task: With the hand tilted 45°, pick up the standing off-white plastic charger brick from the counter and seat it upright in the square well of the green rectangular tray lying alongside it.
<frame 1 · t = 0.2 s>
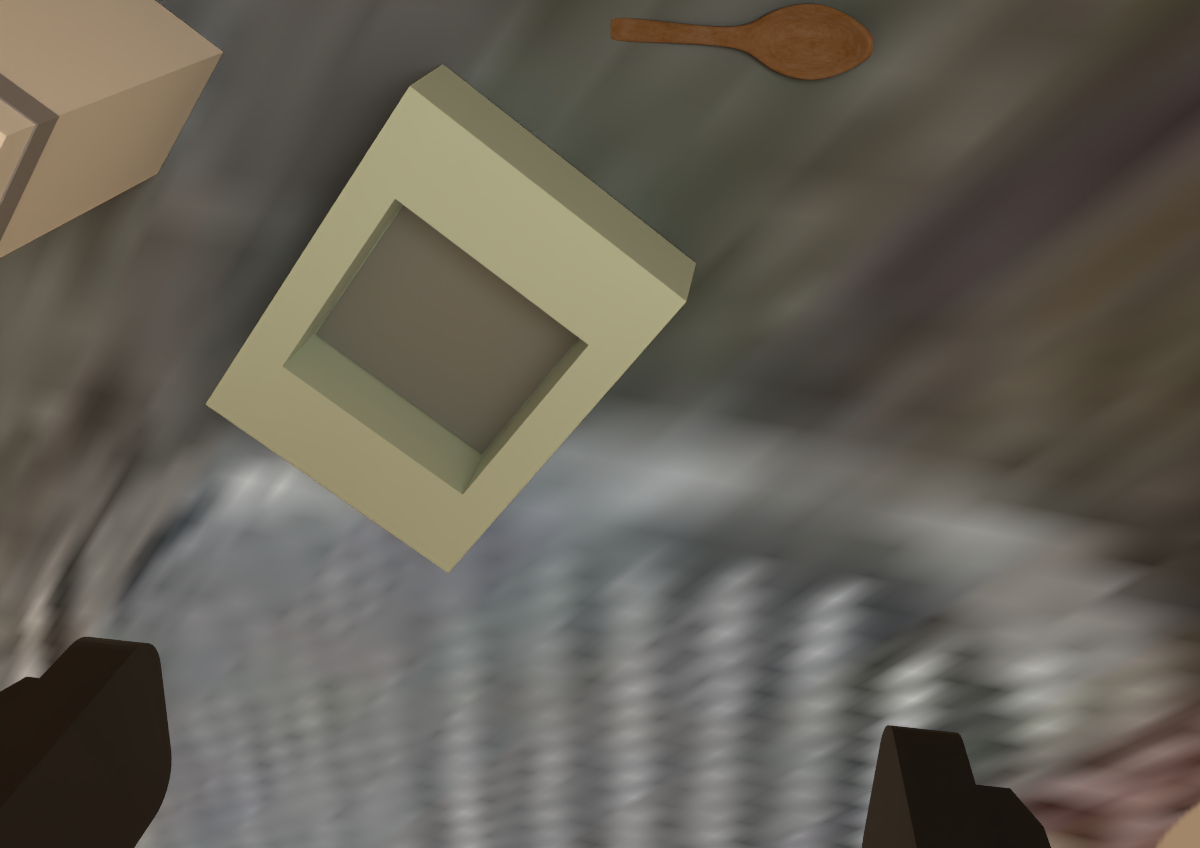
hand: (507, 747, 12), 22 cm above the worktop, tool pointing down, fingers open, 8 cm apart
green rectangular tray: (459, 316, 35), on the worktop
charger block: (123, 65, 33), on the worktop
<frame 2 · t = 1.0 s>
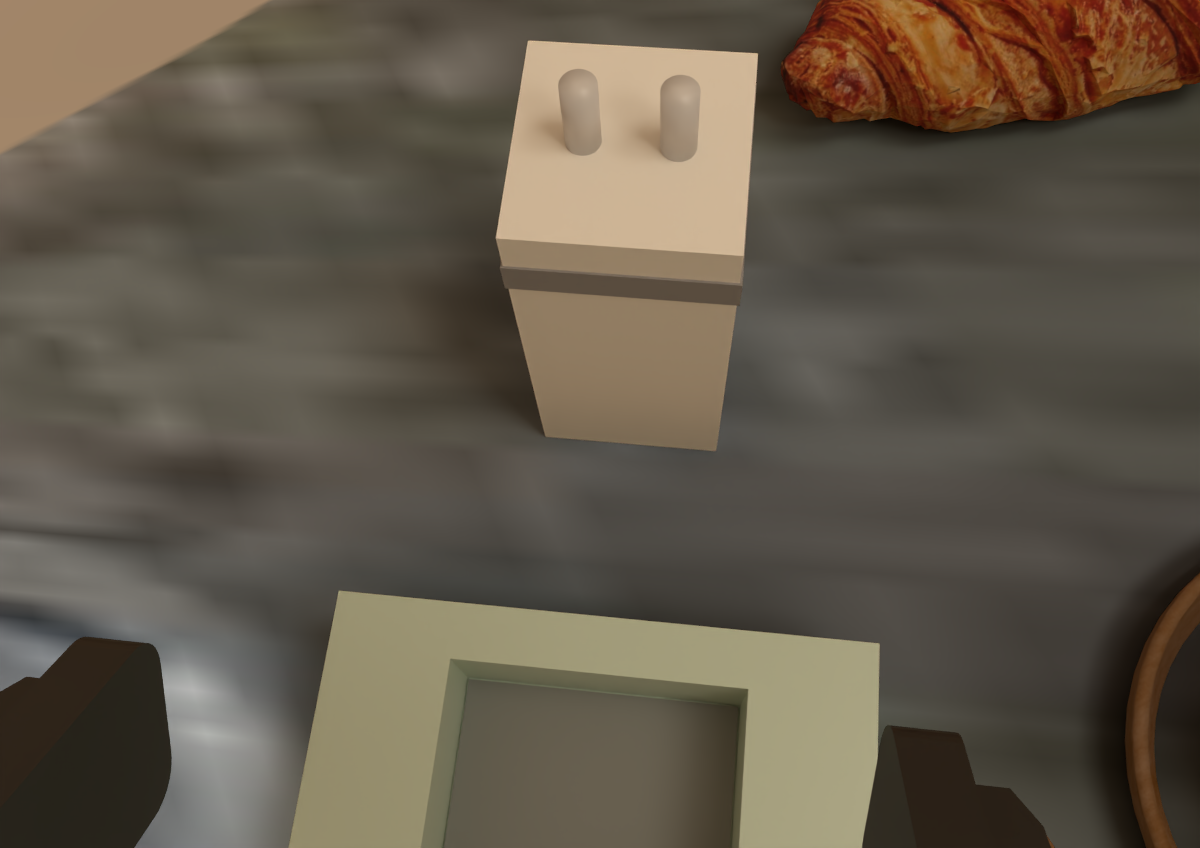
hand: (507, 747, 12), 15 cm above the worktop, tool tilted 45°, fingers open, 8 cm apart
croissant: (1080, 9, 35), on the worktop
green rectangular tray: (588, 837, 26), on the worktop
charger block: (638, 366, 31), on the worktop
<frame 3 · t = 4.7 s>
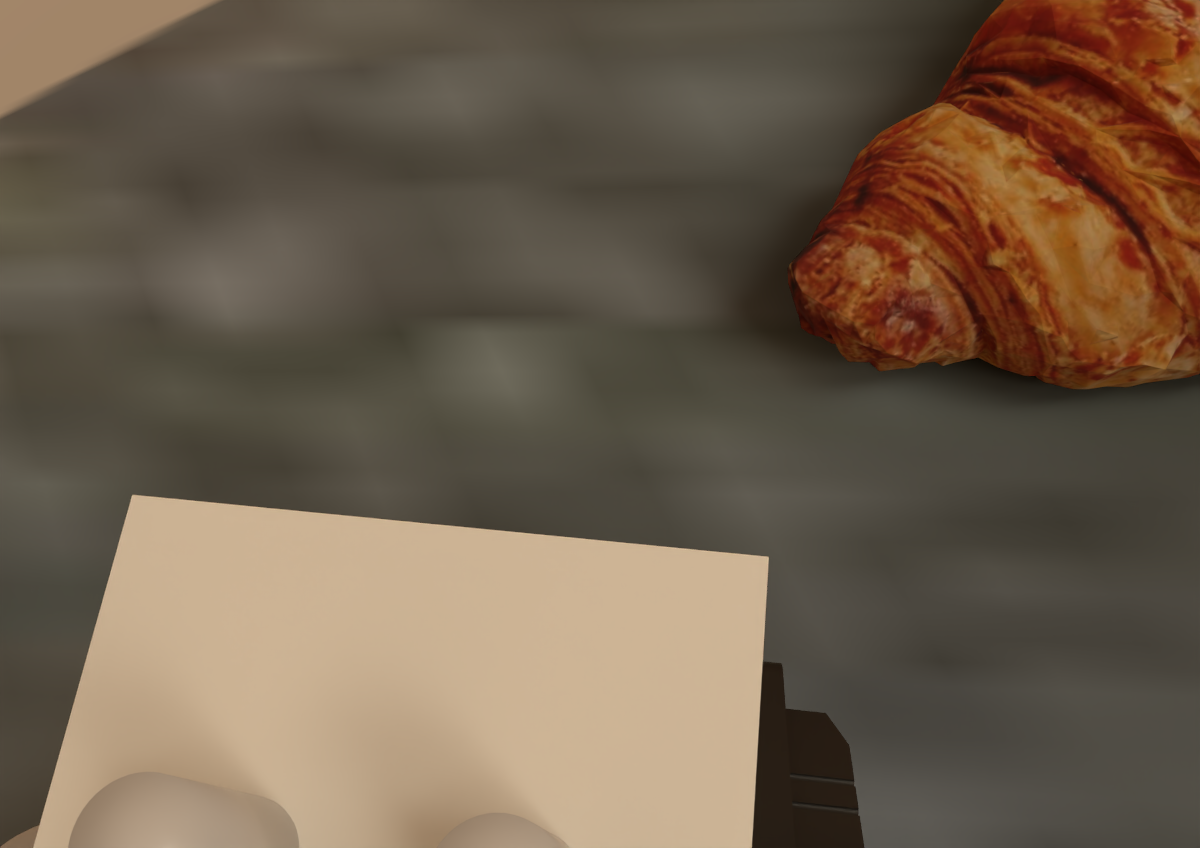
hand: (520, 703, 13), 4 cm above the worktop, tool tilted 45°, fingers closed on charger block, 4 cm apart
when the fingers open (6 cm above the worktop, at t = 9.4 s): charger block drops 1 cm, resting on green rectangular tray.
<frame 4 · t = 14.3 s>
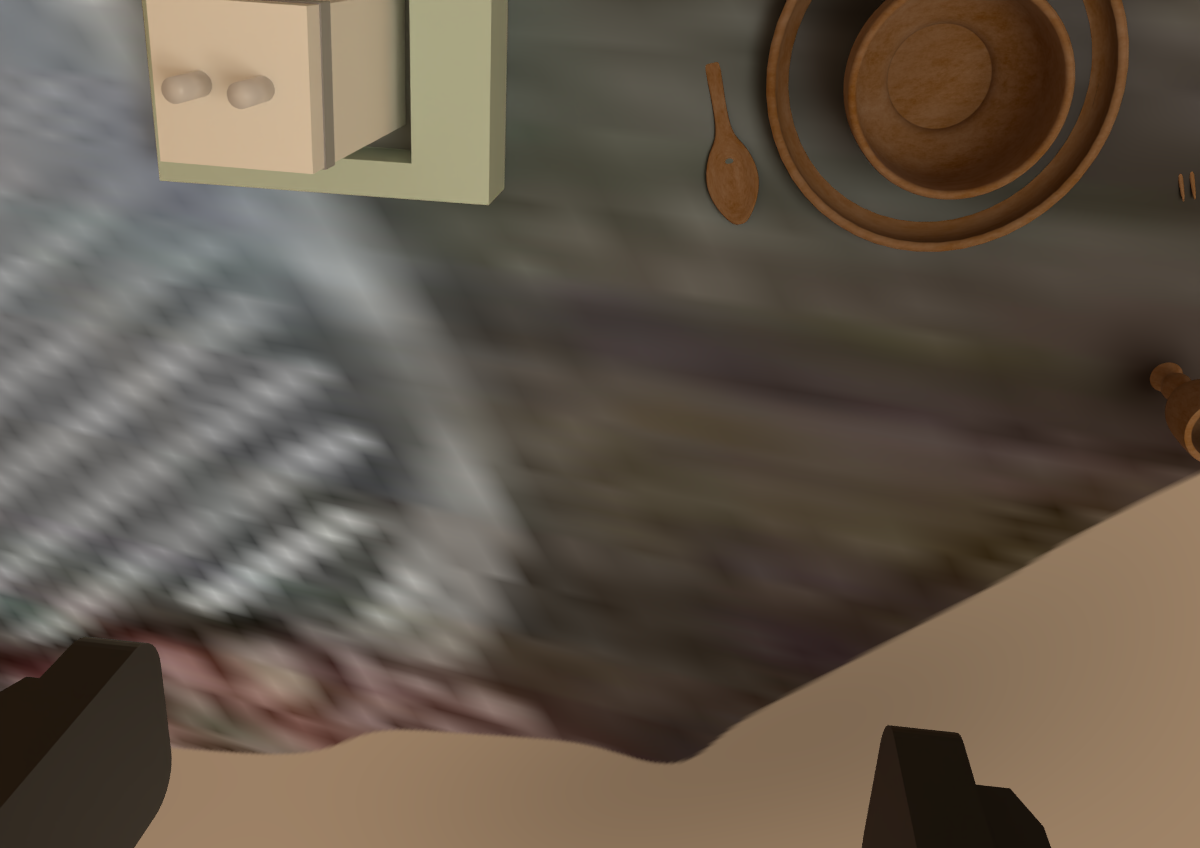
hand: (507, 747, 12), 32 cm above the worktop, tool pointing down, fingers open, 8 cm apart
green rectangular tray: (344, 52, 41), on the worktop
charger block: (343, 55, 41), point 1 cm above the worktop, touching green rectangular tray
place setting: (953, 184, 42), on the worktop
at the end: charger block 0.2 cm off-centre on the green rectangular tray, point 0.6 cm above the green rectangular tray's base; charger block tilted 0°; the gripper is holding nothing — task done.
